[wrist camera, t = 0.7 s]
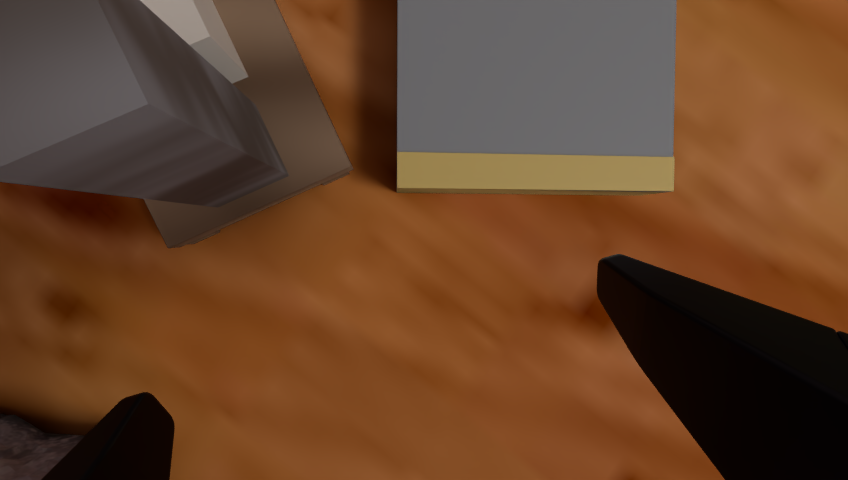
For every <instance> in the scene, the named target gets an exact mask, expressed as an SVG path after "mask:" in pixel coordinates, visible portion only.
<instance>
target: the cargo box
mask: <svg viewBox="0 0 848 480" xmlns="http://www.w3.org/2000/svg"><path fill="white" fill-rule="evenodd" d="M140 1H141V2H142V3H143V4H145V5H146V6H147V7H148V8H149V9H150V10H151V11H152V12H153V13H154V14H156V15H157V16H158V17H159V18H160V19H161V20H162V21H163V22H164V23H166V24H167V25H168V26H169V27H170V28H171V29H172V30H173V31H174V32H176V33H177V34H178V35H179V36H180V37H181V38H182V39H183V40H184V41H185V42H187V43H188V44H189V45H190V46H191V47H192V48H193V49H194V50H195V51H197V52H198V53H199V54H200V55H201V56H202V57H203V58H204V59H205V60H207V61H208V62H209V63H210V64H211V65H212V66H213V67H214V68H215V69H216V70H218V71H219V72H220V73H221V74H222V75H223V76H224V77H225V78H226V79H228V80H229V81H230V82H231V83H232V84H233V83H235V82H237V81H240V80H242V79H244V78H247V77H248V75H247V73H246V70H245V68H244V66H243V64H242V62H241V60H240V58H239V56H238V54H237V51H236V49H235V47H234V45H233V43H232V41H231V39H230V37H229V35H228V32H227V30H226V28H225V26H224V24H223V22H222V20H221V18H220V16H219V14H218V11H217V9H216V7H215V5H214V3H213V1H212V0H140Z"/></svg>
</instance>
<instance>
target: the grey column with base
mask: <svg viewBox="0 0 848 480" xmlns="http://www.w3.org/2000/svg"><path fill="white" fill-rule="evenodd" d="M212 1H213V3H214V5H215V7H216V9H217V11H218V14H219V16H220V18H221V20H222V22H223V24H224V26H225V28H226V30H227V32H228V35H229V37H230V39H231V41H232V43H233V45H234V47H235V49H236V51H237V54H238V56H239V58H240V60H241V62H242V64H243V66H244V68H245V70H246V73H247V75H248V77H247V78H244V79H242V80H240V81H237V82H235V83H233V84H232V83H231V82H230V81H229V80H228V79H226V78H225V77H224V76H223V75H222V74H221V73H220V72H219V71H218V70H216V69H215V68H214V67H213V66H212V65H211V64H210V63H209V62H208V61H207V60H205V59H204V58H203V57H202V56H201V55H200V54H199V53H198V52H197V51H195V50H194V49H193V48H192V47H191V46H190V45H189V44H188V43H187V42H185V41H184V40H183V39H182V38H181V37H180V36H179V35H178V34H177V33H176V32H174V31H173V30H172V29H171V28H170V27H169V26H168V25H167V24H166V23H164V22H163V21H162V20H161V19H160V18H159V17H158V16H157V15H156V14H154V13H153V12H152V11H151V10H150V9H149V8H148V7H147V6H146V5H145V4H143V3H142V2H141V1H140V0H0V182H6V183H15V184H23V185H32V186H40V187H48V188H57V189H65V190H74V191H82V192H91V193H99V194H108V195H116V196H125V197H133V198H141V199H144V201H145V203H146V205H147V207H148V209H149V211H150V213H151V215H152V217H153V219H154V221H155V223H156V225H157V227H158V229H159V231H160V233H161V235H162V237H163V239H164V241H165V243H166V245H167V247H168V248H175V247H182V246H184V245H186V244H195V243H197V242H199V241H201V240H204V239H206V238H208V237H210V236H212V235H215V234H217V233H219V232H220V230H219V229H222V228H224V227H226V226H228V225H231V224H233V223H235V222H237V221H240V220H242V219H244V218H246V217H248V216H251V215H253V214H255V213H257V212H260V211H262V210H264V209H266V208H269V207H271V206H273V205H275V204H277V203H280V202H282V201H284V200H286V199H289V198H291V197H293V196H295V195H298V194H300V193H302V192H304V191H306V190H309V189H311V188H313V187H315V186H318V185H320V184H323V185H326V184H328V183H331V182H333V181H335V180H337V179H339V178H342V177H344V176H346V175H348V174H349V171H351V170H353V167H352V165H351V163H350V161H349V158H348V156H347V154H346V152H345V150H344V148H343V146H342V143H341V141H340V139H339V137H338V135H337V133H336V131H335V128H334V126H333V124H332V122H331V120H330V118H329V115H328V113H327V111H326V109H325V107H324V105H323V103H322V100H321V98H320V96H319V94H318V92H317V90H316V88H315V85H314V83H313V81H312V79H311V77H310V75H309V73H308V70H307V68H306V66H305V64H304V62H303V60H302V57H301V55H300V53H299V51H298V49H297V47H296V45H295V42H294V40H293V38H292V36H291V34H290V32H289V30H288V27H287V25H286V23H285V21H284V19H283V17H282V14H281V12H280V10H279V8H278V6H277V4H276V2H275V0H212Z"/></svg>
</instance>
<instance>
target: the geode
mask: <svg viewBox="0 0 848 480" xmlns="http://www.w3.org/2000/svg"><path fill="white" fill-rule="evenodd" d="M84 436H85V435H84ZM84 436H83V435H70V434H52V433H44V432H42V431H41V430H39V429H38V428H36V427H35V426H33V425H31V424H30V423H28V422H26V421H25V420H23V419H21V418H20V417H18V416H16V415H4V414H1V413H0V480H41V479H42V478H43V477H44V476H45V475H46V474H47V473H48V472H49V471H50V470H51V469H52V468H53V467H54V466H55V465H56V464H57V463H58V462H59V461H60V460H61V459H62V458H63V457H64V456H65V455H66V454H67V453H68V452H69V451H70V450H71V449H72V448H73V447H74V446H75V445H76V444H77V443H78V442H79V441H80V440H81V439H82V438H83V437H84Z"/></svg>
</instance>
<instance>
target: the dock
mask: <svg viewBox="0 0 848 480" xmlns="http://www.w3.org/2000/svg"><path fill="white" fill-rule="evenodd" d="M675 42H676V0H397V193H471V194H560V195H648V194H656V193H663V192H671V191H674V157H673V135H674V89H675Z"/></svg>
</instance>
